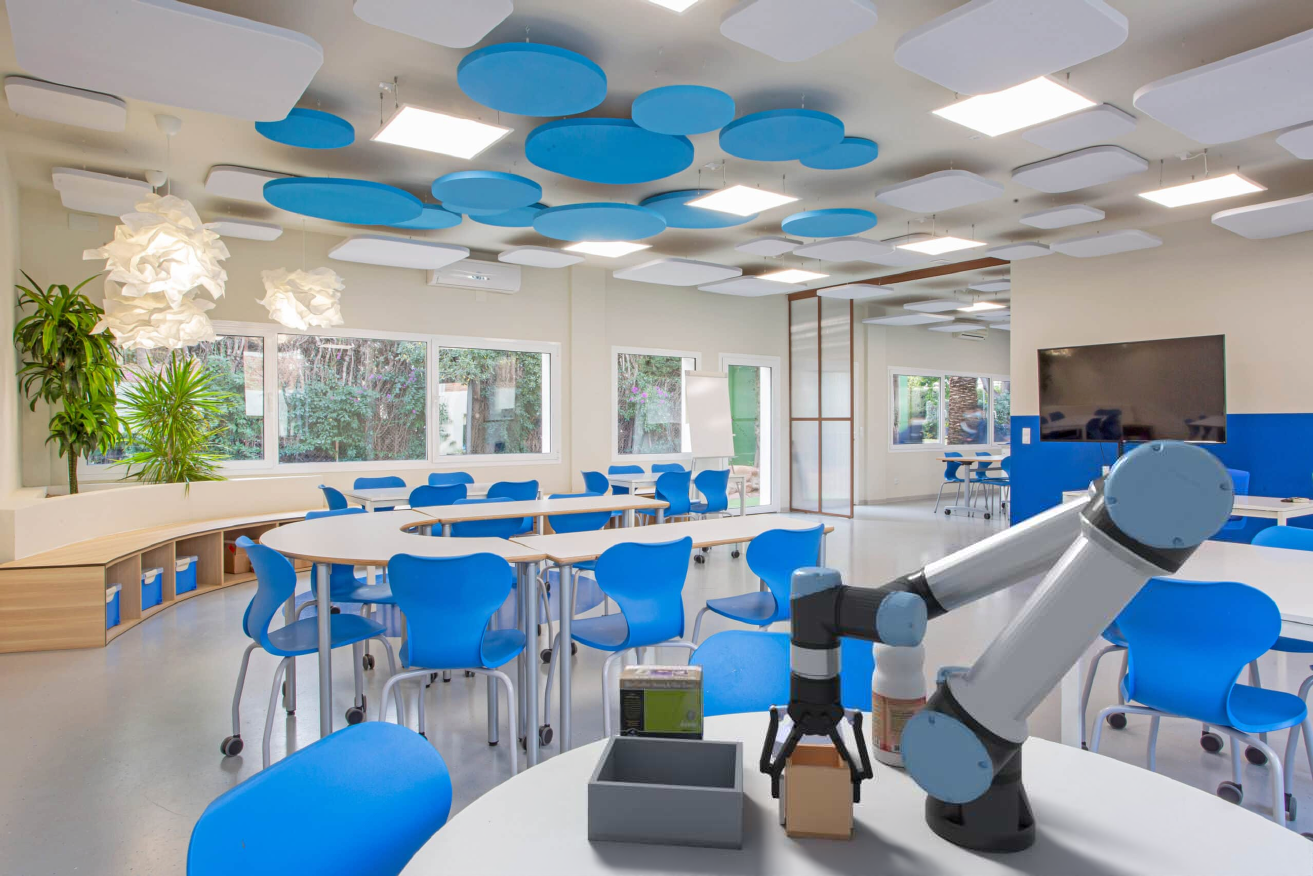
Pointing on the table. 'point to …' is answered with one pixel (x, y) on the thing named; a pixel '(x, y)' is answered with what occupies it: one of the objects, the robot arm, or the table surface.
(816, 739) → the wedge on round base
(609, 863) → the table surface
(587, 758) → the table surface
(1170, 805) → the table surface
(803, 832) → the small crate
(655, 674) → the tea box
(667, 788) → the large crate
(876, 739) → the fruit juice
